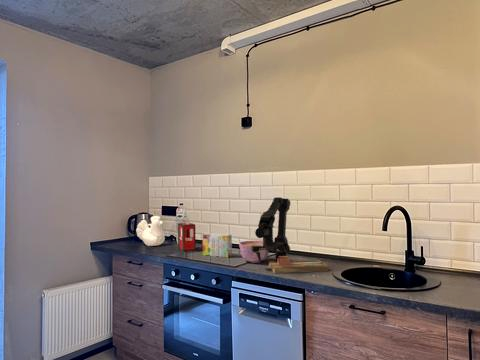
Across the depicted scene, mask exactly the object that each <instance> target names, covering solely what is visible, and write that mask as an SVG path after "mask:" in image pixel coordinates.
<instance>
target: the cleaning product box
mask: <svg viewBox="0 0 480 360" xmlns="http://www.w3.org/2000/svg"><path fill="white" fill-rule="evenodd" d="M196 239H197V237H196V224H195V223H191V222H180V223H179V222H178V223H177V249H178V250H179V249H180V250H182V251H183V252H187V251H196V246H197V245H196V241H197V240H196ZM180 250H179V251H180ZM182 251H181V252H182ZM183 252H182V253H183ZM196 252H197V251H196ZM187 253H188V252H187Z"/></svg>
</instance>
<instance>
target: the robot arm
mask: <svg viewBox="0 0 480 360" xmlns="http://www.w3.org/2000/svg"><path fill="white" fill-rule="evenodd" d="M290 206H291V200H289V198H284V197H280V196H279V197H273V200H272V202H271V204H270V206H269V208H268V209H267V210H266V211H264V212H263V213H262V214H261V215H260V218H259V221H258V224H257V226H258V228H256V229H255V231H254V232H255V236H256V237H257V238H258V239H262V241H263V247H259V246H258V245H252V246H251V250H252V252H255V253H256V254H257V256H258V259H259V264H261V265H262V261H261V257H260V251H259V250H266V251H269V252H270V251H272V252H274V255H275V258H274V262H275V263H277V262H278V257H279V256H288V253H290V252H291V247H290V244H289V243H288V242H289V240H288V237H287V236H286V228H287V227H286V226H287V215H288V214H287V213H288V211H289V210H290ZM277 212H278V221H277V223H278V227H277V236H276V237H273V236H274V234H273V233H274V230H273V229H274V223H275V220H276V217H275V216H276V214H277Z"/></svg>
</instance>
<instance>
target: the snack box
mask: <svg viewBox="0 0 480 360" xmlns="http://www.w3.org/2000/svg"><path fill="white" fill-rule="evenodd" d="M232 237H233V234H229V233H228V234H226V233H223V234H222V233H212V232H211V233H210V232H209V233H207V232H206V233H202V256H206V255H210V256H209V257H216V256H219V258H225V257H226V258H227V259H228V258H233V257H232V254H233V253H232V252H233V251H232V249H233V248H232V245H233V243H232V241H233V240H232V239H233V238H232Z"/></svg>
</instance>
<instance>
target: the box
mask: <svg viewBox="0 0 480 360" xmlns="http://www.w3.org/2000/svg"><path fill="white" fill-rule="evenodd" d="M268 267H269V268H270V270H271V271H272V272H273V273H274V274H285V273H286V274H289V273H291V274H292V273H312V272H329V265H328V264H326V263H324V262H323V261H322V260H320V259H312V260H311V259H309V260H308V259H307V260H290V265H286V266H280V265H279V264H278V261H277V263H275V261H268Z"/></svg>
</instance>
